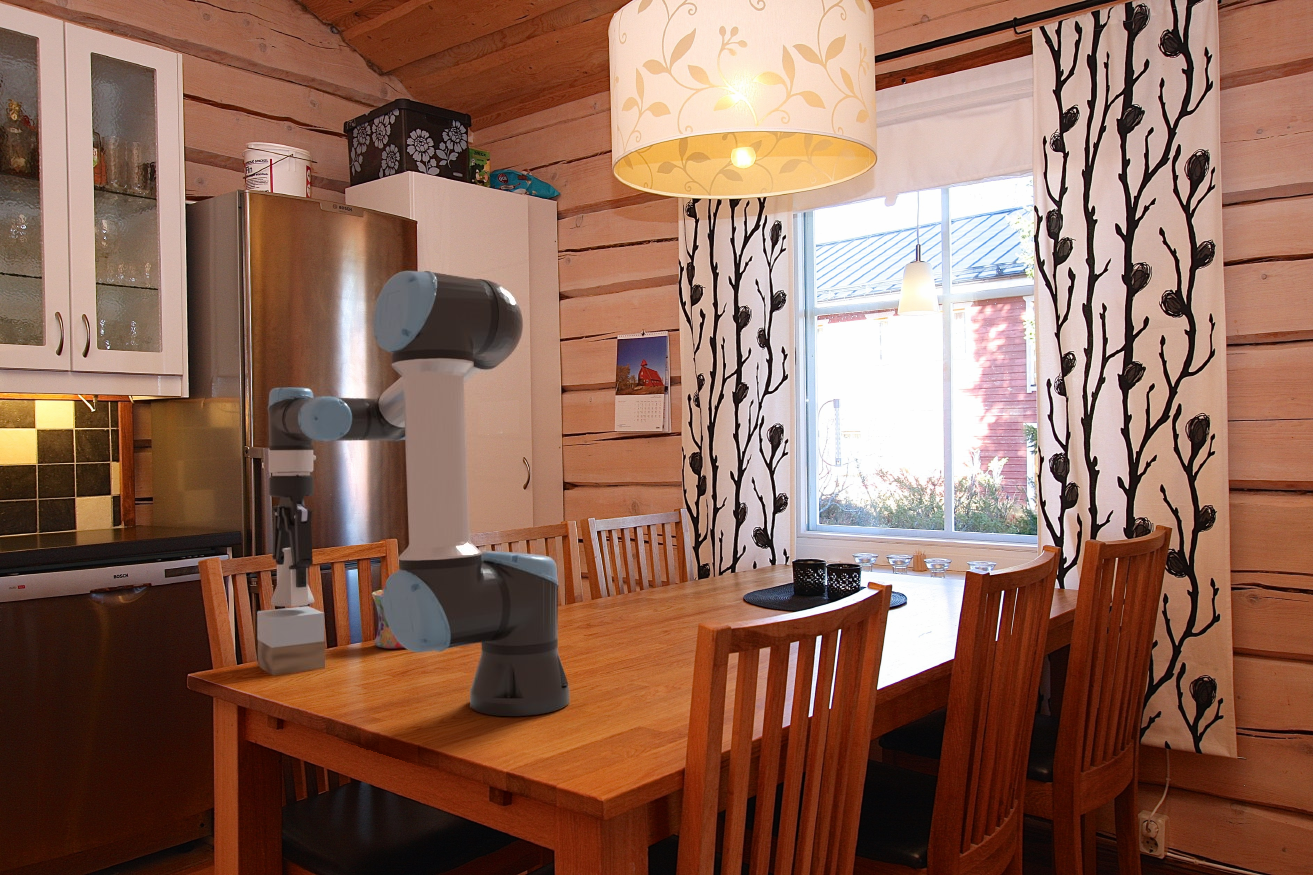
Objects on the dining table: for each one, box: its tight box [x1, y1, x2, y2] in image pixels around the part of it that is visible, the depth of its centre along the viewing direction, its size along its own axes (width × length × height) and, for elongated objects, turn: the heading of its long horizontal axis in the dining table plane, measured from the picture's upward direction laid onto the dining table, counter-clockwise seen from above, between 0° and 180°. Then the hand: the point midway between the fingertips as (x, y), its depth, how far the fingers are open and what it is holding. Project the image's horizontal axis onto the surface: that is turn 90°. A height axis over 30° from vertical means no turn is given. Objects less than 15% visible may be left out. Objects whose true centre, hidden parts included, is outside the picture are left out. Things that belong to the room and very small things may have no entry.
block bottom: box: [257, 639, 326, 677], centre depth 175 cm, size 9×9×5 cm
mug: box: [371, 589, 406, 650], centre depth 193 cm, size 12×9×11 cm
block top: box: [256, 605, 325, 648], centre depth 175 cm, size 9×9×5 cm
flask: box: [269, 548, 316, 608], centre depth 175 cm, size 7×7×10 cm
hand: (292, 602), depth 175 cm, fingers closed on flask, 7 cm apart
